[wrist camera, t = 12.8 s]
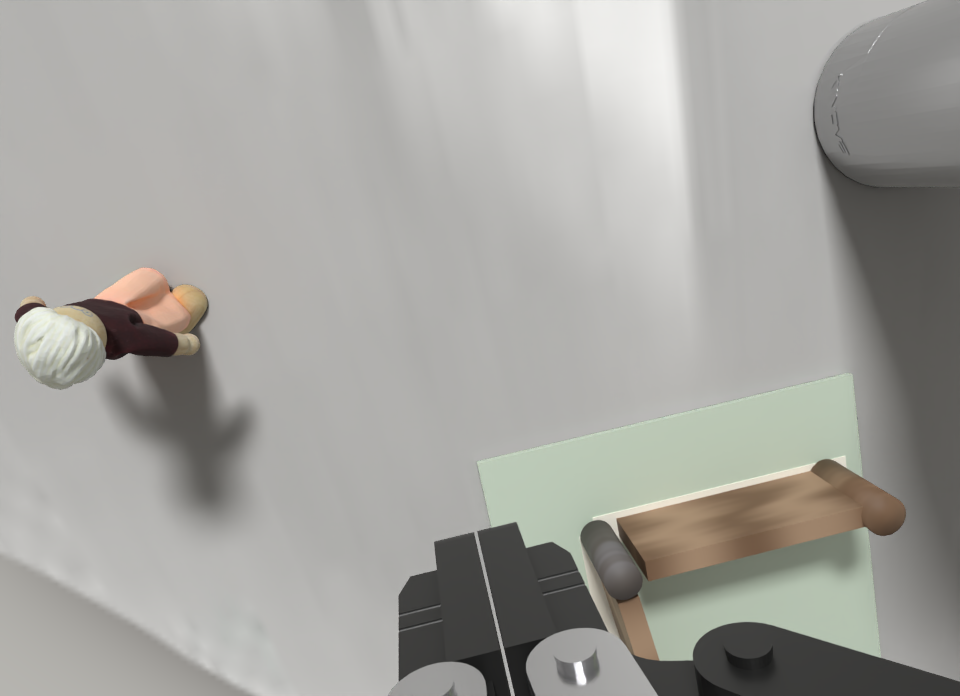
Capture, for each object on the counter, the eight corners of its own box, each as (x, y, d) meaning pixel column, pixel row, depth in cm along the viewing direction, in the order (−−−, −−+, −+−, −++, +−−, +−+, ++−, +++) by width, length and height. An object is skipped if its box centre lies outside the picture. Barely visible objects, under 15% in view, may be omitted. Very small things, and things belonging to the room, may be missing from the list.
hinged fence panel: (574, 527, 44) (598, 573, 39) (609, 514, 44) (638, 559, 39) (645, 740, 48) (677, 809, 42) (678, 728, 48) (713, 796, 42)
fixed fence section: (840, 455, 45) (904, 493, 40) (843, 488, 46) (907, 530, 40) (614, 510, 44) (646, 557, 39) (620, 543, 45) (652, 594, 39)
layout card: (848, 372, 45) (853, 374, 44) (879, 675, 49) (883, 679, 49) (476, 461, 43) (477, 464, 43) (544, 764, 48) (545, 769, 48)
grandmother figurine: (227, 270, 40) (149, 305, 27) (226, 341, 40) (150, 405, 28) (74, 261, 39) (-77, 292, 26) (77, 333, 40) (-69, 396, 27)
